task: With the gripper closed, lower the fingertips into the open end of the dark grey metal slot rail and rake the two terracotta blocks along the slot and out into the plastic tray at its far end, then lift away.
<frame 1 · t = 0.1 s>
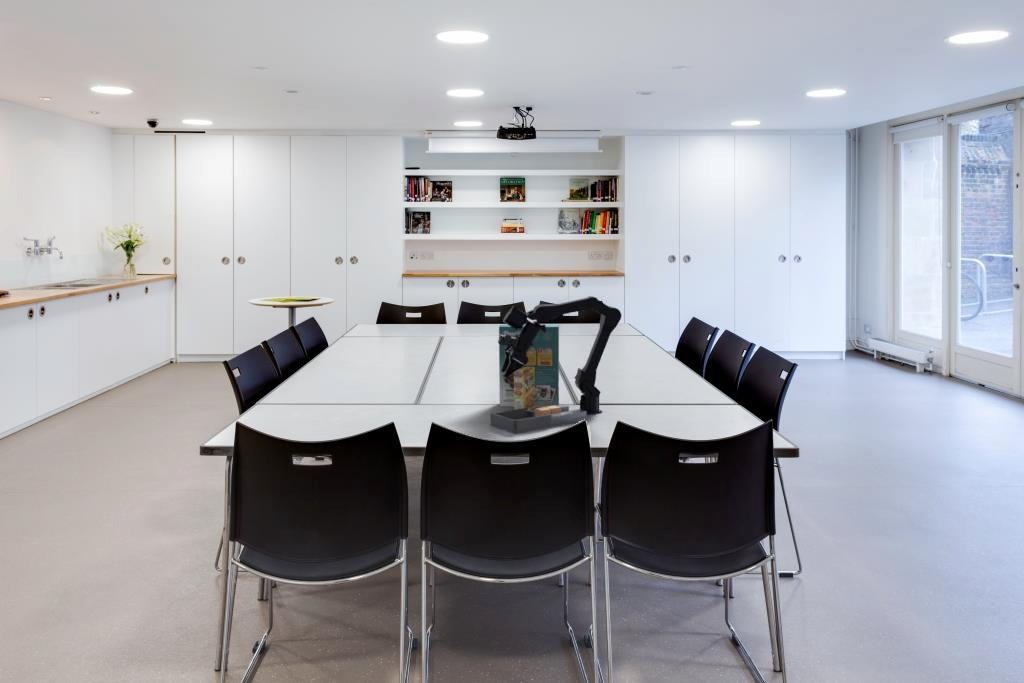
hand: (503, 374, 298), 15 cm above the table, tool tilted 35°, fingers open, 9 cm apart
tray: (520, 426, 284), on the table
chip a: (553, 416, 292), point 1 cm above the table, touching slot board
teal product box: (529, 405, 317), on the table, touching candy box
chip b: (543, 418, 289), point 1 cm above the table, touching slot board
candy box: (524, 409, 310), on the table, touching teal product box
slot board: (556, 419, 293), on the table
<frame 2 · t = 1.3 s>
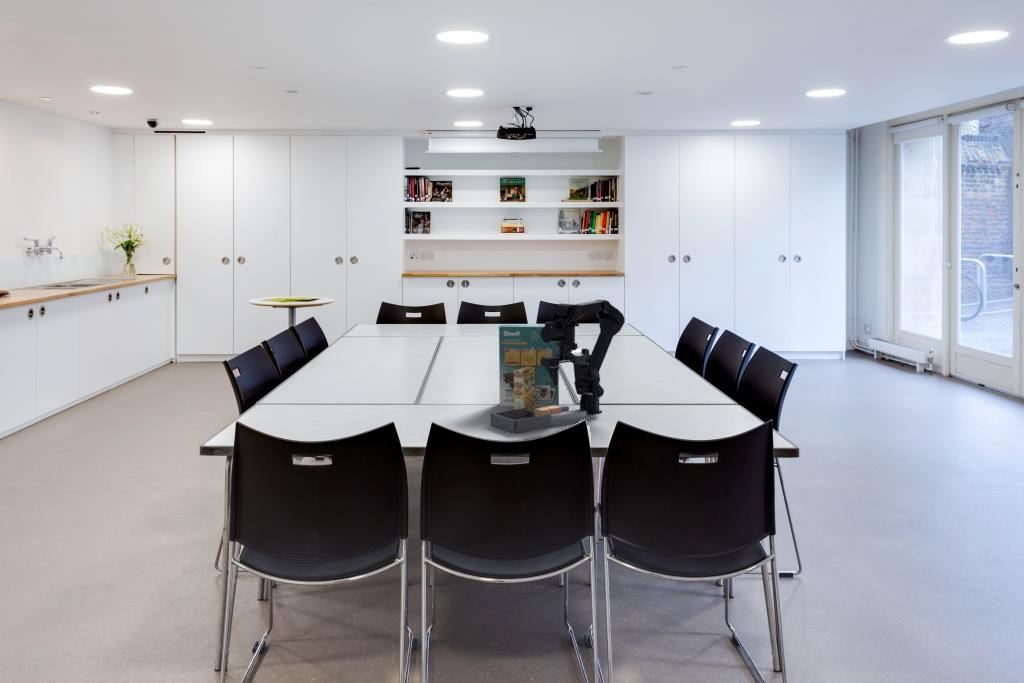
hand: (566, 384, 294), 12 cm above the table, tool pointing down, fingers open, 9 cm apart
teal product box: (529, 405, 317), on the table
candy box: (524, 409, 310), on the table
everything else where it was.
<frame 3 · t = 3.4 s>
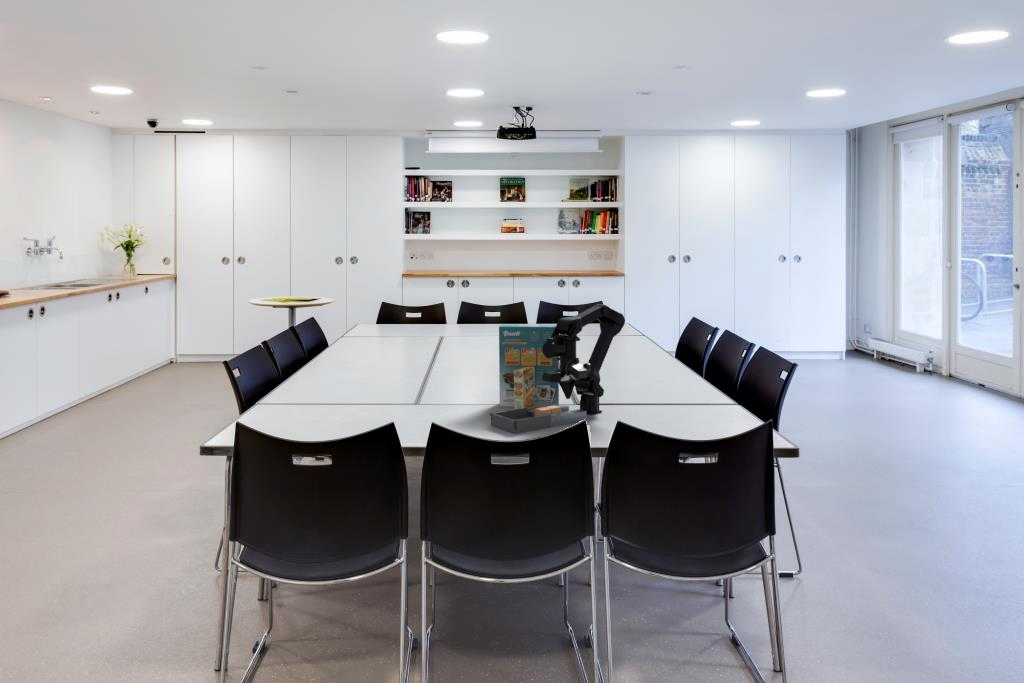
hand: (568, 398, 295), 7 cm above the table, tool pointing down, fingers closed
teal product box: (529, 405, 317), on the table, touching candy box
candy box: (524, 409, 310), on the table, touching teal product box
everything else where it was.
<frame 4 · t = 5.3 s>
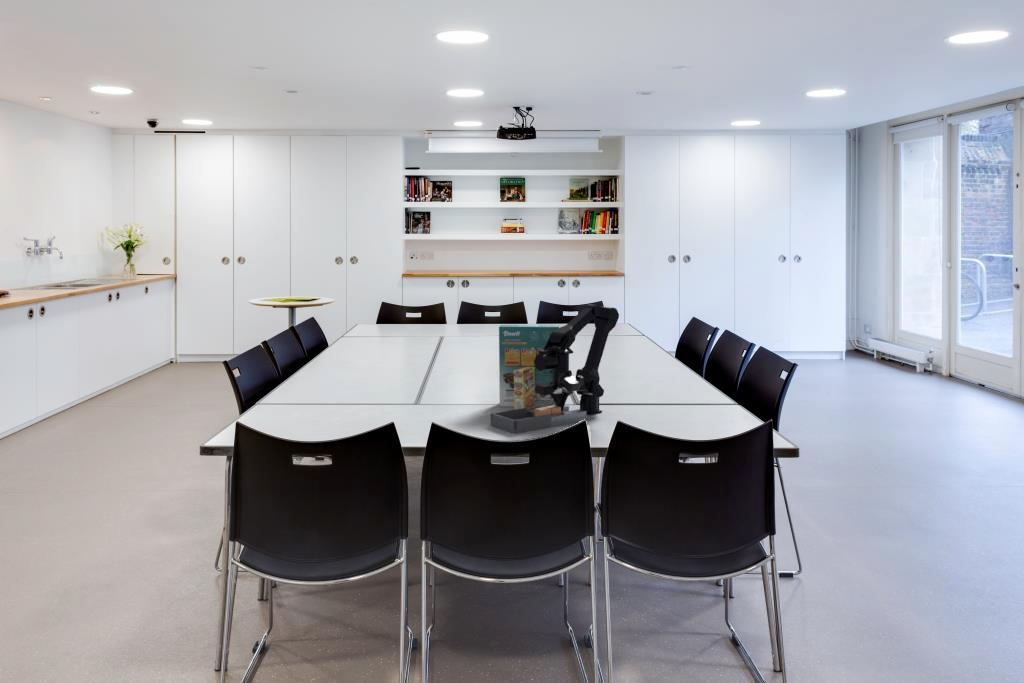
hand: (560, 411, 294), 3 cm above the table, tool pointing down, fingers closed
chip a: (553, 417, 292), point 1 cm above the table, touching gripper, slot board
everything else where it was.
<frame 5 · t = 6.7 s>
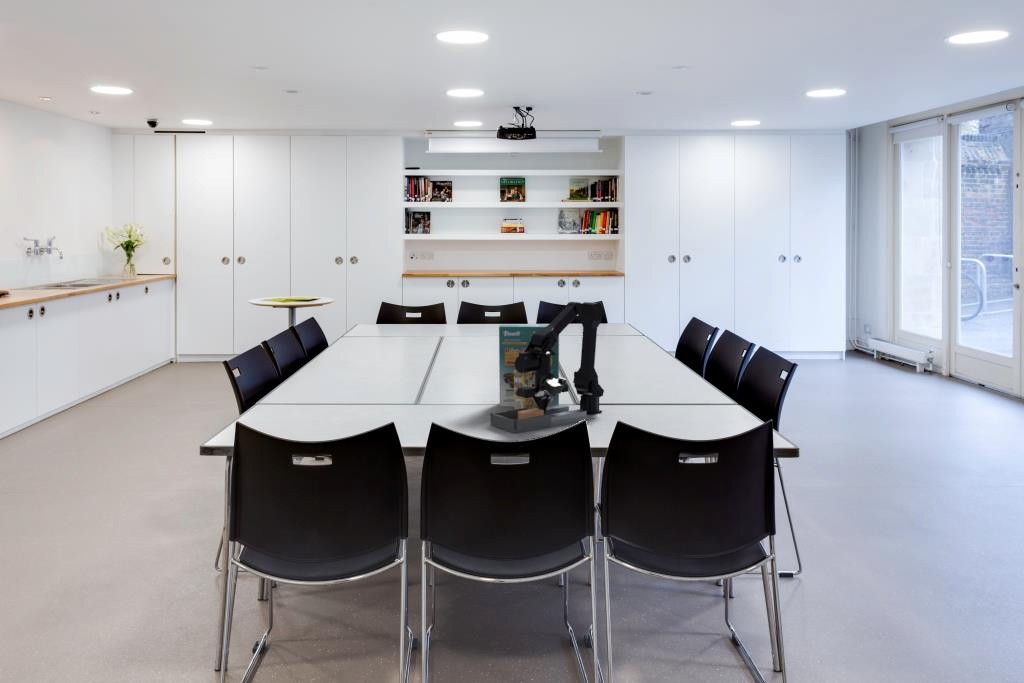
hand: (542, 414, 289), 3 cm above the table, tool pointing down, fingers closed
chip a: (535, 420, 287), point 1 cm above the table, touching gripper, slot board, tray
teal product box: (529, 405, 317), on the table
chip b: (525, 421, 285), point 1 cm above the table, touching tray
candy box: (524, 409, 310), on the table
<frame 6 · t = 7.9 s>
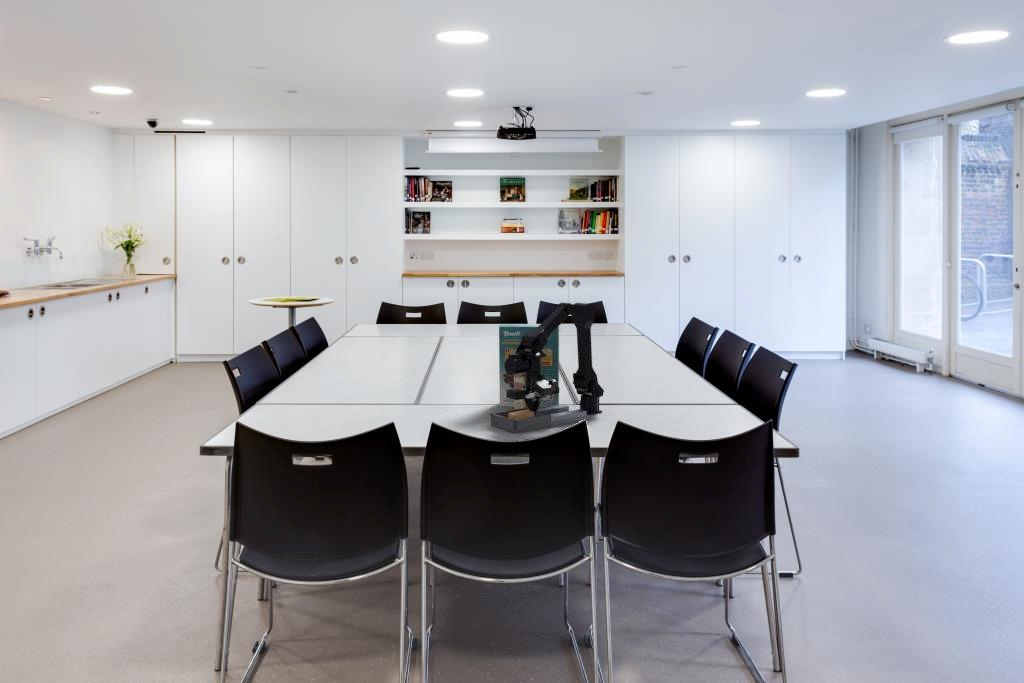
hand: (533, 416, 287), 3 cm above the table, tool pointing down, fingers closed
chip a: (525, 421, 285), point 1 cm above the table, touching chip b, gripper, tray
chip b: (516, 423, 283), point 1 cm above the table, touching chip a, tray
everything else where it was.
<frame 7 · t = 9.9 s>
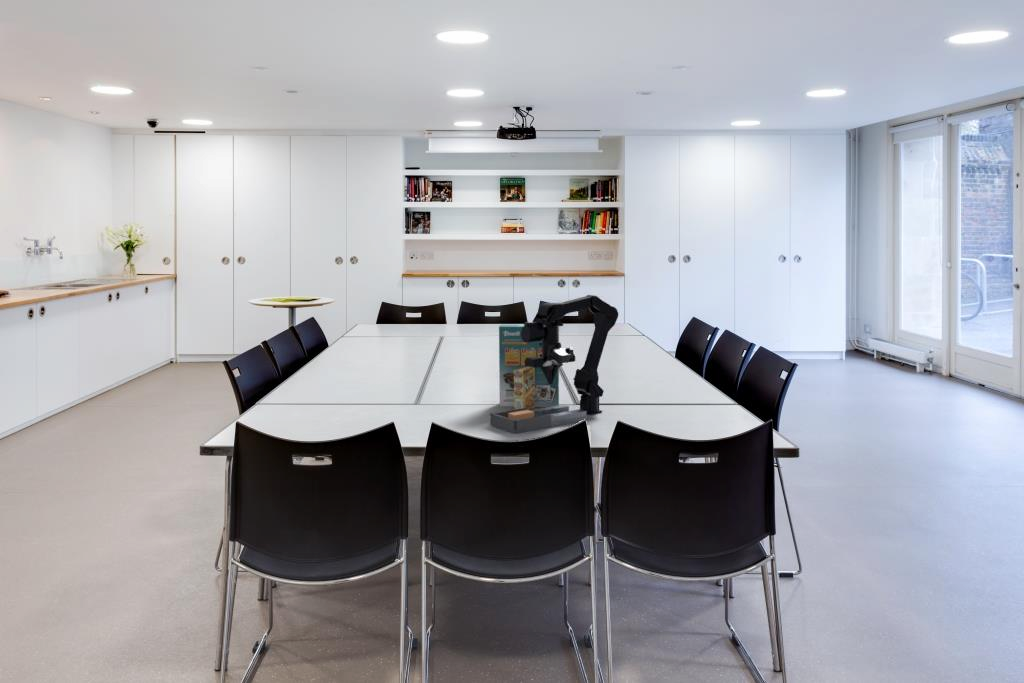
hand: (550, 384, 293), 12 cm above the table, tool pointing down, fingers closed
chip a: (525, 421, 285), point 1 cm above the table, touching tray
chip b: (516, 423, 283), point 1 cm above the table, touching tray
everything else where it was.
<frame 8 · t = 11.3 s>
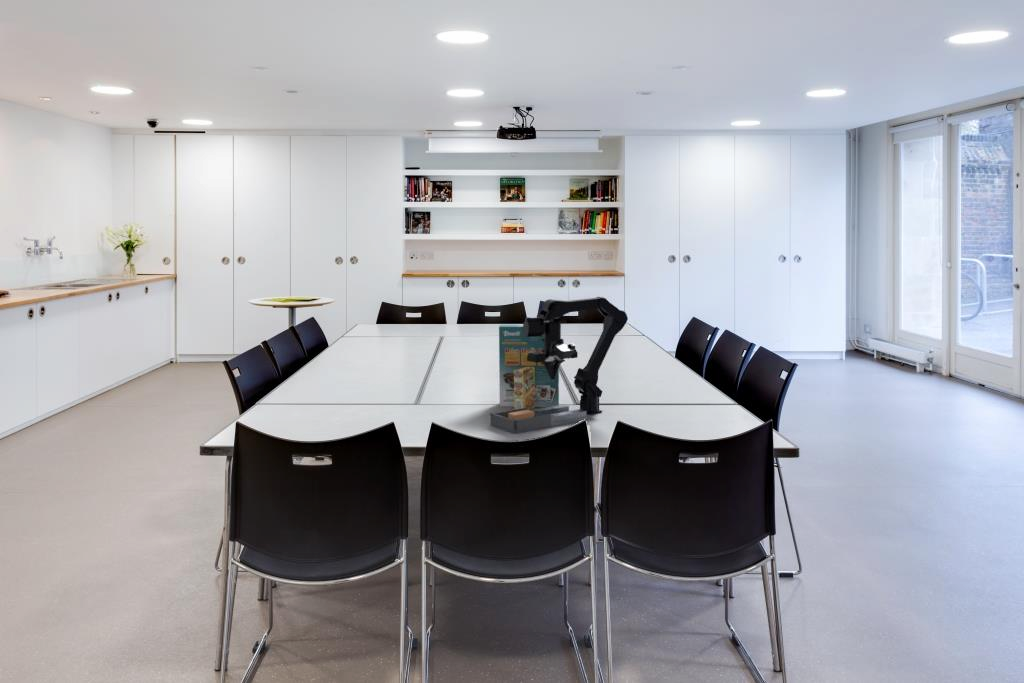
hand: (552, 379, 298), 13 cm above the table, tool pointing down, fingers closed
teal product box: (529, 405, 317), on the table, touching candy box
candy box: (524, 409, 310), on the table, touching teal product box
everything else where it was.
at the end: chip a inside the target area on the tray (2.2 cm from its centre), point 1.2 cm above the tray's base; chip b inside the target area on the tray (1.8 cm from its centre), point 1.2 cm above the tray's base; chip a touching tray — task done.
